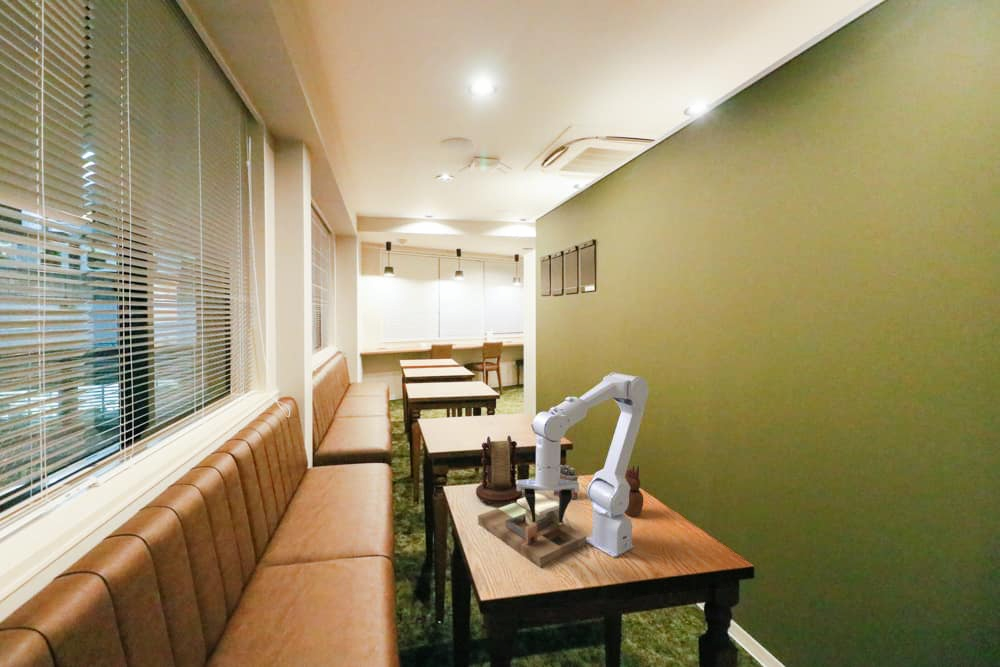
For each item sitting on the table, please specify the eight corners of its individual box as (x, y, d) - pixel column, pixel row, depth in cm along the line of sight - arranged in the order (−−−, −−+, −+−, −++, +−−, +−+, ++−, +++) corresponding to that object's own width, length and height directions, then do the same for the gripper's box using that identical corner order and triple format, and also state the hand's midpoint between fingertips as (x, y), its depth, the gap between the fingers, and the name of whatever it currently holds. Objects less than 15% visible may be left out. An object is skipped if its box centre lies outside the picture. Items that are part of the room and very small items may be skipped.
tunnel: (586, 545, 109) (586, 514, 108) (540, 567, 99) (540, 534, 98) (521, 508, 129) (521, 482, 128) (478, 523, 119) (478, 495, 119)
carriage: (561, 530, 111) (561, 515, 111) (527, 544, 104) (528, 528, 104) (534, 514, 119) (535, 501, 119) (502, 527, 112) (502, 512, 112)
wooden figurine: (646, 517, 124) (648, 466, 123) (630, 520, 122) (632, 469, 121) (631, 507, 130) (632, 459, 129) (616, 510, 128) (617, 461, 127)
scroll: (479, 510, 127) (480, 444, 126) (473, 489, 142) (473, 430, 141) (527, 506, 130) (527, 442, 129) (516, 486, 145) (516, 428, 144)
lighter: (579, 497, 137) (579, 466, 136) (575, 501, 134) (575, 470, 134) (556, 491, 141) (556, 461, 141) (551, 495, 138) (552, 465, 138)
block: (546, 524, 114) (546, 509, 114) (535, 528, 112) (535, 513, 112) (536, 518, 118) (536, 504, 117) (525, 522, 115) (525, 508, 115)
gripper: (576, 458, 103) (575, 513, 104) (516, 457, 104) (516, 511, 105) (581, 469, 96) (579, 527, 97) (517, 468, 97) (516, 526, 97)
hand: (547, 520), depth 100 cm, fingers open, 6 cm apart
